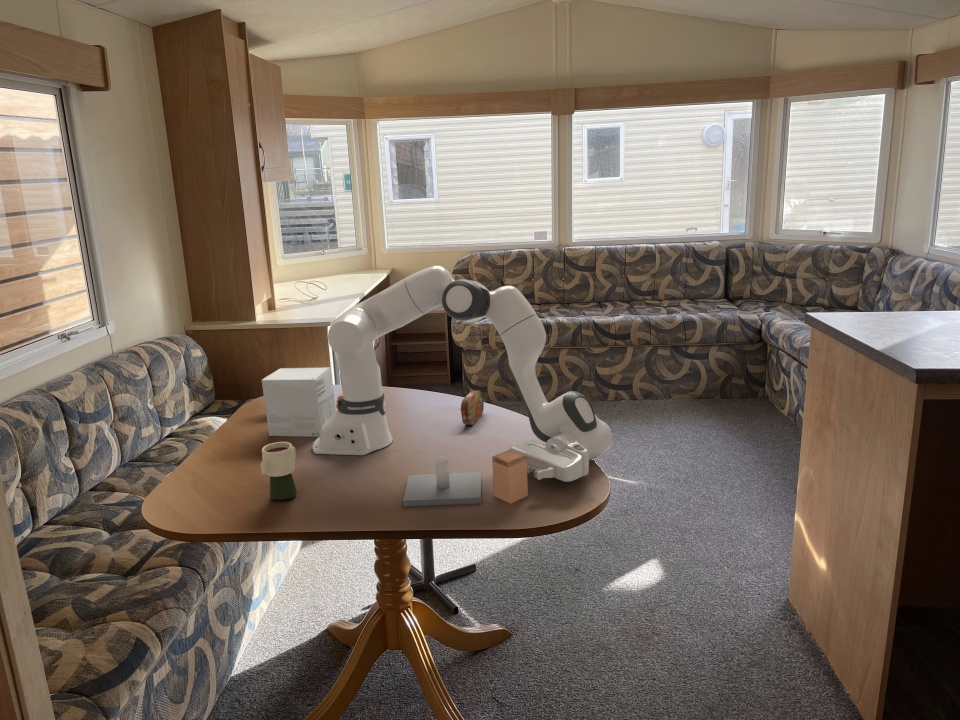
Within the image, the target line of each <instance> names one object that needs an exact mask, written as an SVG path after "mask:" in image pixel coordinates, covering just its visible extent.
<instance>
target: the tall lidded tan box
mask: <svg viewBox="0 0 960 720" xmlns="http://www.w3.org/2000/svg"><path fill="white" fill-rule="evenodd" d="M491 459H492V460H491V463H492V478H493V479H492V480H493V481H492V482H493V497H494V498H497V499H499V500H501V501H503V502H505V503H508V504H510V505H511V504H513V503H515V502H517V501H520V500H522V499H524V498H526V497H529V489H528V485H529V484H528V467H527V457H526V456H525V455H522V454H520V453H517V452H515V451H512V450H509V449H508V450H505V451H503V452H502V453H498V454H496V455H493V456H491Z"/></svg>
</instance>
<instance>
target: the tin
mask: <svg viewBox="0 0 960 720" xmlns="http://www.w3.org/2000/svg"><path fill="white" fill-rule="evenodd" d="M460 404H461V405H460V414H461V421H462V423H463V424H464V425H465V426H474V425H475V424H476V423H477V422H478V421H479V420H480V418H481V417H482V415H483V413H484V397H483V393H482V391H481V390H471V391H469V392H468V394H467V395H466V396H465V397H464V398H463V399H462V401H461V403H460Z"/></svg>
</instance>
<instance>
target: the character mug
mask: <svg viewBox="0 0 960 720" xmlns="http://www.w3.org/2000/svg"><path fill="white" fill-rule="evenodd" d="M261 455H262V456H261V458H262V461H261V462H260V471H261V474H262V475H264V476H266V475H267V476H268V477H269V497H270V499H271V500H276V501H277V500H279V501H280V500H283V501H284V500H288V499H292V498H294V497H295V496H296V494H297V493H298V492H297V487H296V484H295V480H294V478H293V472H294V471H295V469H296V465H295V464H296V462H295V460H296V459H297V453H296V447H295V446H293V445H292V443H291V442H289V441H278V442H272V443H269V444H266V445H264V446H263V447H262V449H261Z"/></svg>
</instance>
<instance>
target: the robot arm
mask: <svg viewBox="0 0 960 720" xmlns="http://www.w3.org/2000/svg"><path fill="white" fill-rule="evenodd" d="M439 307H442V308H443V310H444V312H445V313H446V314H447V315H448V316H449V317H450V318H451V319H453V320H455V321H460V322H463V323H478V322H482V321H484V320H486V319H487V320H488V321H490V323H492V325H493V326H494V328H495V329H496V331H497V333H498V335H499V336H500V338H501V340H502V342H503V344H504V347H505V350H506V353H507V357H508V358H507V364H508V370H509V372H510V374H511V377H512V379H513V383H514V385H515V387H516V390H517V391H518V394H519V395H520V398H521V400H522V403H523V405H524V408H525V410H526V413H527V416H528V421H529V424H530V428H531V430H532V433H533V434H534V436H536V437H537V438H538V439H539V440H540V441H542V442H543V443H541V442H538V441H535V440H525V441H521V442H518V443H514V444H511V445H509V448H508V450H512V451H515V452H517V453H520V454H522V455H525V456H526V457H527V468H530V469H532V470H534V471H533V478H534V479H537V480H538V481H539V480H542V479H549V478H550V479H552V478H554V479H557V480H560V481H562V482H564V483H565V482H566V483H569V482H573V481H575V480H578V479H580V478H582V477H585V476H588V475H589V471H590V470H589V469H590V465H589V464H590V462H589V461H592V460H594V459H596V458H598V457H600V456H602V455H603V454H605V452H607V451H608V450H609V449H610V447H611V445H612V443H613V433H612V430H611V428H610V426H609V425H608V423H606V422H605V421H603V420H601V419H600V418H599V417H598V416H597V415H596V413H595V411H594V407H593V406H592V404H591V402H590V401H589V399H588V398H587V397H586V395H584V394H583V393H581V392H578V391H575V390H568V391H566V393H563V394H562V395H560V396H557V398H555V399H554V400H553V399H552V401H550V402H549V401H547V398H546V396H545V394H544V392H543V389H542V387H541V385H540V383H539V380H538V378H537V374H536V366H537V362H538V359H539V358H540V356H541V354H542V352H543V350H544V348H545V345H546V341H547V333H546V330H545V327H544V324H543V322H542V320H541V319H540V318H539V316H538V315H537V312H536V311H535V309H534V308H533V307H532V304H530V302H529V300H528V299H526V297H525V296H524V294H523V293H522V292H521V291H520V290H519V289H518V288H517V287H516V286H514V285H503V286H500V287H498V288H496V289H495V290H490V289H489V288H488V287H487V286H486V285H484V284H482V283H480V282H478V281H475V280H473V279H472V280H470V279H466V278H461V279H456V280H455V278H454V277H453V276H452V273H451V272H450V271H449V270H447V268H445V267H443V266H442V265H432V266H429V267H426V268H423V269H421V270H419V271H416V272H413V273H412V274H410V275H408V276H407V277H404V278H403V279H401V280H399V281H398V282H396V283H394V284H392V285H390V286H389V287H387V288H385V289H383V290H382V291H380V292H378V293H376V294H374V295H372V296H370V297H368V298H367V299H365V300H363V301H361V302H359V303H358V304H356V305H353V306H352V307H350V308H349V309H348V310H346V311H345V312H343V313H342V314H341V315H339V316H337V318H335V319H334V320H333V321H332V323H331V325H330V327H329V330H328V333H327V341H328V344H329V346H330V347H331V349H332V350H333V353H334V356H335V360H336V363H337V365H338V369H339V373H340V374H339V375H340V382H341V391H342V393H340V394H339V395H338V397H337V399H336V402H335V408H336V409H337V410H336V412H335V413H334V414H333V415H332V416H331V417H329V418H328V419H327V420H326V421H325V422H324V423H323V425H322V427H321V431H320V437H317V438H316V439H315V440H314V443H313V444H312V452H313V453H314V454H316V455H338V456H339V455H341V456H345V455H346V456H347V455H348V456H365V455H367V454H369V453H372V452H374V451H377V450H381V449H383V448H386V447H387V446H389V445H390V444H392V442H393V439H394V438H393V437H392V435H391V431H390V429H389V424H388V421H387V417H386V412H387V411H386V410H387V404H386V398H385V393H384V392H383V385H382V376H381V367H380V365H379V363H378V361H377V358H376V354H375V351H374V341H376V340H377V339H378V338H381V337H382V336H385V335H387V334H388V333H391V332H392V331H395V330H398V329H401V328H403V327H405V326H407V325H408V324H410V323H411V322H414V321H415V320H418V319H419V318H421V317H423V316H424V315H426V314H428V313H430V312H431V311H433V310H436V309H438V308H439ZM544 443H545V444H544Z"/></svg>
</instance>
